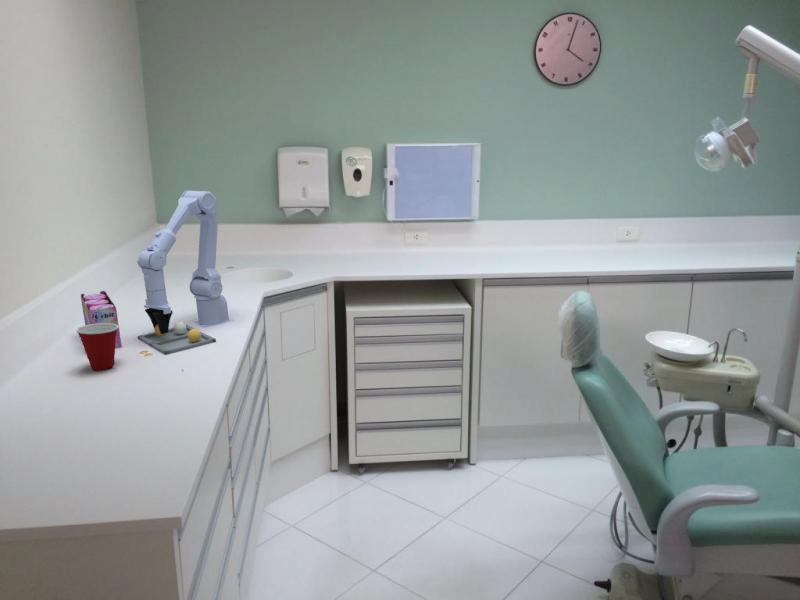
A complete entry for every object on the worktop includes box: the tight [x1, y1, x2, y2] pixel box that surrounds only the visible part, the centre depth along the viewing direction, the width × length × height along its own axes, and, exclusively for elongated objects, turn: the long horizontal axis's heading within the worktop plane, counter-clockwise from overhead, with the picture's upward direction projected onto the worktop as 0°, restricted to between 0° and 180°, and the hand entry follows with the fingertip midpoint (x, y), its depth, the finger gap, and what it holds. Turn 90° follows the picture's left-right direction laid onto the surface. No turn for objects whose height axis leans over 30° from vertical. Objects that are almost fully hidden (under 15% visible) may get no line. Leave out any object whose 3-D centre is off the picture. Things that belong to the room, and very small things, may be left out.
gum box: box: [80, 290, 123, 349], centre depth 213 cm, size 24×8×14 cm, turn 30°
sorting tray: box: [137, 324, 217, 356], centre depth 211 cm, size 16×21×1 cm
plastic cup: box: [76, 323, 120, 372], centre depth 190 cm, size 11×11×12 cm
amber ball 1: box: [153, 324, 167, 336], centre depth 213 cm, size 4×4×4 cm
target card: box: [139, 350, 154, 357], centre depth 200 cm, size 5×8×1 cm, turn 41°
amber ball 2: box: [187, 328, 201, 342], centre depth 209 cm, size 4×4×4 cm
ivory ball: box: [172, 321, 187, 335], centre depth 216 cm, size 4×4×4 cm
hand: (161, 331), depth 213 cm, fingers closed on amber ball 1, 4 cm apart
